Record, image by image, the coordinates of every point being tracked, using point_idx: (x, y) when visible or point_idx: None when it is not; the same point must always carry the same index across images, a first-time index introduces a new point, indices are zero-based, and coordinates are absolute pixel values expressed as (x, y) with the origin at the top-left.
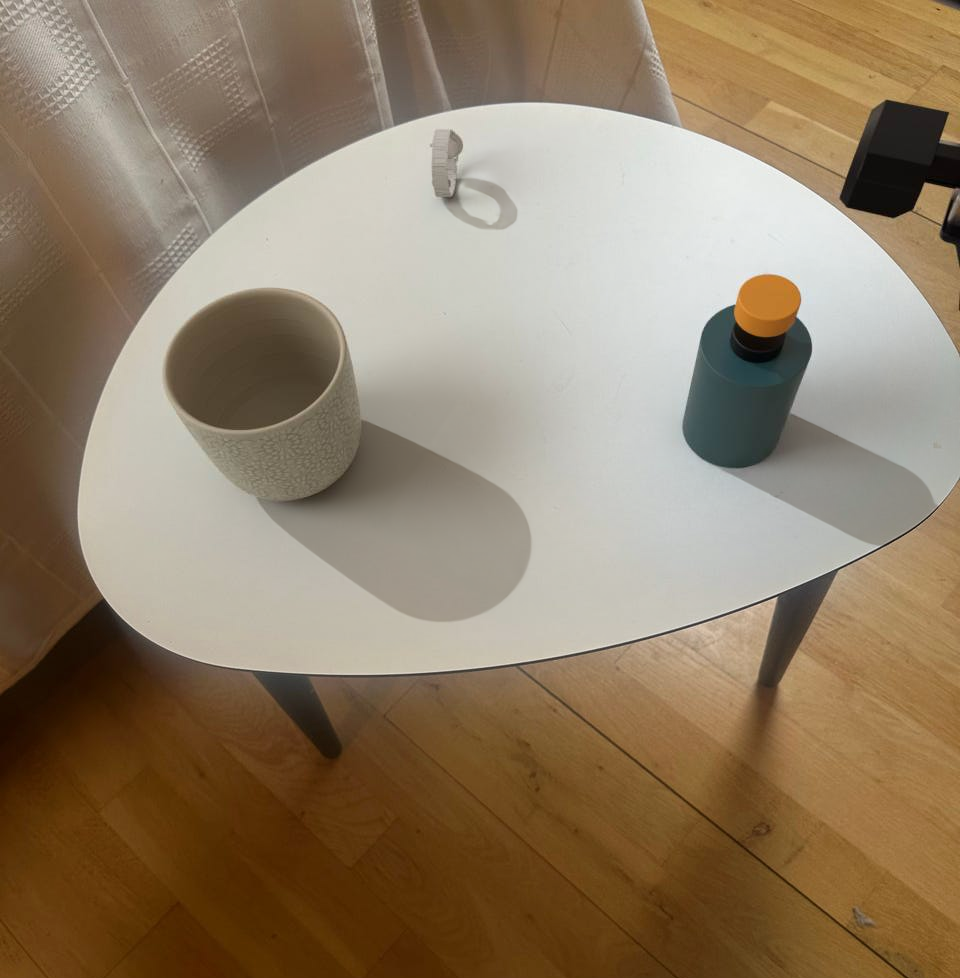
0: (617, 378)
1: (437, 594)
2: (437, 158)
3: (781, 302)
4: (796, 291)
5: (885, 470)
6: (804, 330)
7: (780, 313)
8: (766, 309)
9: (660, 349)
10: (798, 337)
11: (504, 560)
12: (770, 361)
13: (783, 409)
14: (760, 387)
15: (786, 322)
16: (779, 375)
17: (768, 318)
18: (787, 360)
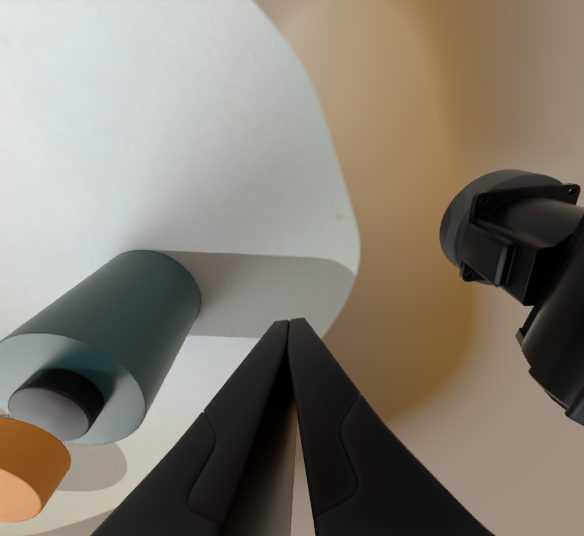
0: (22, 294)
1: (92, 478)
2: None
3: (8, 496)
4: (5, 473)
5: (303, 269)
6: (100, 354)
7: (27, 508)
8: (4, 510)
9: (20, 242)
10: (102, 367)
11: (104, 450)
12: (104, 409)
13: (171, 364)
14: (123, 437)
15: (52, 493)
16: (128, 420)
17: (22, 519)
18: (119, 401)
